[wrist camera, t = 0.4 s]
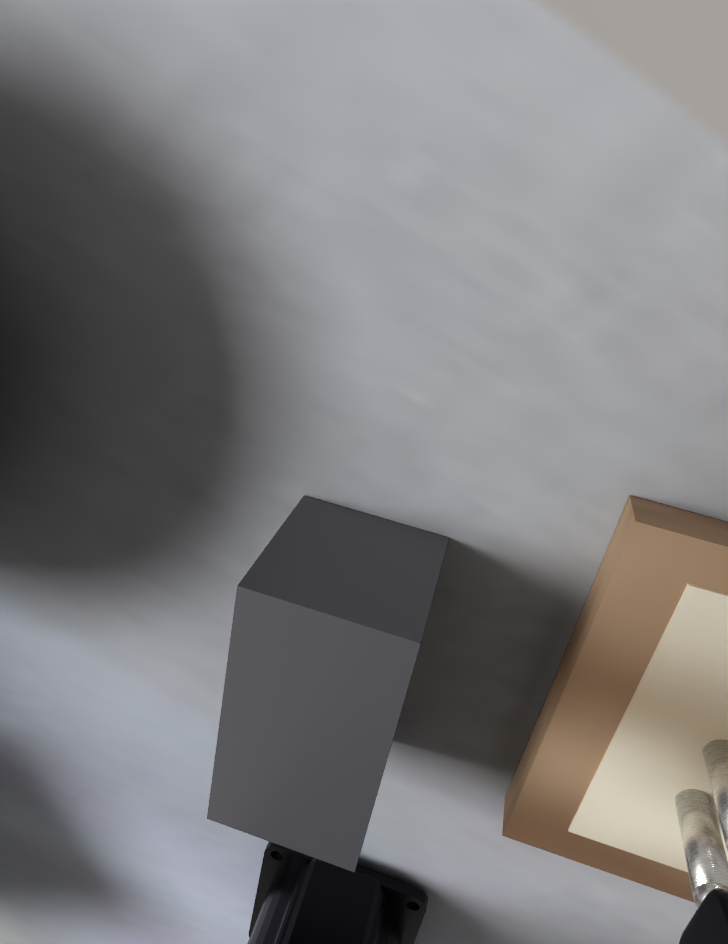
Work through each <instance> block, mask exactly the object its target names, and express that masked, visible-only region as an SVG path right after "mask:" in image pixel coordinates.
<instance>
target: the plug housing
mask: <svg viewBox="0 0 728 944" xmlns="http://www.w3.org/2000/svg"><path fill="white" fill-rule="evenodd" d="M448 540H449V538H448V537H444V536H441V535H437V534H434V533H430V532H427V531H424V530H420V529H417V528H413V527H410V526H406V525H403V524H400V523H396V522H393V521H389V520H386V519H382V518H379V517H376V516H372V515H369V514H365V513H362V512H358V511H355V510H352V509H348V508H345V507H341V506H338V505H334V504H331V503H328V502H324V501H321V500H317V499H314V498H311V497H307V496H303V498H302V499H301V500H300V502H299V503H298V504H297V506H296V507H295V508H294V510H293V511H292V512H291V514H290V515H289V517H288V518H287V519H286V521H285V522H284V523H283V525H282V526H281V527H280V529H279V530H278V531H277V533H276V534H275V536H274V537H273V538H272V540H271V541H270V542H269V544H268V545H267V546H266V548H265V549H264V551H263V552H262V553H261V555H260V556H259V557H258V559H257V560H256V561H255V563H254V564H253V565H252V567H251V568H250V570H249V571H248V572H247V574H246V575H245V576H244V578H243V579H242V580H241V582H240V583H239V584H238V586H237V593H236V601H235V609H234V616H233V624H232V632H231V639H230V647H229V655H228V662H227V670H226V678H225V685H224V693H223V700H222V708H221V716H220V723H219V731H218V739H217V746H216V754H215V762H214V769H213V777H212V784H211V792H210V800H209V807H208V815H207V819H210V820H212V821H215V822H218V823H221V824H223V825H226V826H229V827H232V828H234V829H237V830H240V831H242V832H245V833H248V834H251V835H253V836H256V837H259V838H262V839H264V840H267V841H270V842H273V843H275V844H278V845H281V846H284V847H286V848H289V849H292V850H294V851H297V852H300V853H303V854H305V855H308V856H311V857H314V858H316V859H319V860H322V861H325V862H327V863H330V864H333V865H335V866H338V867H341V868H344V869H346V870H349V871H352V872H355V869H356V866H357V862H358V859H359V855H360V852H361V848H362V845H363V841H364V838H365V834H366V831H367V827H368V824H369V821H370V817H371V814H372V810H373V807H374V803H375V800H376V796H377V793H378V789H379V786H380V782H381V779H382V776H383V772H384V769H385V765H386V762H387V758H388V755H389V751H390V748H391V744H392V741H393V738H394V734H395V731H396V727H397V724H398V720H399V717H400V713H401V710H402V706H403V703H404V699H405V696H406V693H407V689H408V686H409V682H410V679H411V675H412V672H413V668H414V665H415V661H416V658H417V655H418V651H419V648H420V644H421V640H422V637H423V633H424V629H425V626H426V622H427V618H428V615H429V611H430V607H431V603H432V600H433V596H434V592H435V589H436V585H437V581H438V577H439V574H440V570H441V566H442V563H443V559H444V555H445V552H446V548H447V544H448Z"/></svg>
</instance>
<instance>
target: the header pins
mask: <svg viewBox="0 0 728 944" xmlns="http://www.w3.org/2000/svg"><path fill="white" fill-rule="evenodd" d="M703 758H704V762H705V766H706V770H707V773H708V777H709V781H710V785H711V789H712V793H713V797H714V801H715V805H716V809H717V813H718V817H719V821H720V825H721V828H722V832H723V836H724V840H725V844H726V848H727V850H728V740H723V739H719V740H714V741H711V742H709V743H708V744H707V745H706V746H705V747H704V749H703ZM675 805H676V810H677V816H678V821H679V826H680V831H681V836H682V842H683V847H684V852H685V857H686V862H687V868H688V873H689V878H690V883H691V888H692V894H693V898H694V901H695V903H696V905H697V907H698V908H699V906H700V905H701V903H702V902H703V900H704V898H705V897H706V895H707V894H708V893H709V892H710V891H711V890H713V889H716V888H719V889H724V890H726V891H728V861H727V857H726V853H725V849H724V845H723V841H722V837H721V833H720V829H719V825H718V821H717V817H716V813H715V809H714V805H713V801H712V799H711V797H710V796H709V795H708V794H707V793H705V792H703V791H701V790H697V789H687V790H683V791H681V792H680V793H678V794H677V796H676V797H675Z"/></svg>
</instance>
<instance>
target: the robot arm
mask: <svg viewBox="0 0 728 944" xmlns="http://www.w3.org/2000/svg"><path fill="white" fill-rule="evenodd" d="M427 901H428V897H427V895H426V893H425V892H423V891H422V890H420V889H418V888H416V887H413V886H411V885H408V884H405V883H402V882H400V881H397V880H394V879H391V878H389V877H386V876H383V875H380V874H378V873H375V872H372V871H369V870H367V869H364V868H361V867H358V866H356V869H355V872H352V871H349V870H346V869H344V868H341V867H338V866H335V865H333V864H330V863H327V862H325V861H322V860H319V859H316V858H314V857H311V856H308V855H305V854H303V853H300V852H297V851H294V850H292V849H289V848H286V847H284V846H281V845H278V844H275V843H273V842H270V841H269V842H268V845H267V847H266V849H265V852H264V857H263V863H262V868H261V873H260V878H259V883H258V888H257V894H256V899H255V904H254V909H253V914H252V920H251V925H250V930H249V937H250V939H249V941H248V944H414V941H415V938H416V936H417V933H418V930H419V928H420V925H421V922H422V920H423V917H424V914H425V912H426V907H427ZM679 944H728V891H726V890H724V889H719V888H716V889H713V890H711V891H710V892H709V893H708V894H707V895H706V897H705V898H704V900H703V902H702V903H701V905H700V906H699V908H698V909H697V911H696V913H695V914H694V916H693V917H692V919H691V921H690V922H689V924H688V925H687V927H686V928H685V930H684V932H683V934H682V936H681V939H680V942H679Z"/></svg>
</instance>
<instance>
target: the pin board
mask: <svg viewBox="0 0 728 944" xmlns="http://www.w3.org/2000/svg"><path fill="white" fill-rule="evenodd" d="M719 739H723V740H728V522H725V521H721V520H718V519H714V518H710V517H707V516H703V515H699V514H696V513H692V512H688V511H685V510H681V509H678V508H674V507H670V506H667V505H663V504H659V503H656V502H652V501H648V500H645V499H641V498H637V497H634V496H629V498H628V500H627V503H626V505H625V508H624V510H623V513H622V515H621V517H620V520H619V522H618V525H617V527H616V530H615V532H614V534H613V537H612V539H611V542H610V544H609V547H608V549H607V551H606V554H605V556H604V559H603V561H602V564H601V566H600V568H599V571H598V573H597V576H596V578H595V581H594V583H593V585H592V588H591V590H590V593H589V595H588V598H587V600H586V602H585V605H584V607H583V610H582V612H581V615H580V617H579V619H578V622H577V624H576V627H575V629H574V632H573V634H572V636H571V639H570V641H569V644H568V646H567V649H566V651H565V653H564V656H563V658H562V661H561V663H560V666H559V668H558V670H557V673H556V675H555V678H554V680H553V683H552V685H551V687H550V690H549V692H548V695H547V697H546V700H545V702H544V704H543V707H542V709H541V712H540V714H539V717H538V719H537V721H536V724H535V726H534V729H533V731H532V734H531V736H530V738H529V741H528V743H527V746H526V748H525V751H524V753H523V755H522V758H521V760H520V763H519V765H518V768H517V770H516V772H515V775H514V777H513V780H512V782H511V785H510V787H509V789H508V792H507V794H506V797H505V806H504V819H503V833H502V836H505V837H508V838H511V839H514V840H517V841H520V842H522V843H525V844H528V845H531V846H534V847H537V848H540V849H543V850H545V851H548V852H551V853H554V854H557V855H560V856H563V857H566V858H568V859H571V860H574V861H577V862H580V863H583V864H586V865H589V866H591V867H594V868H597V869H600V870H603V871H606V872H609V873H612V874H614V875H617V876H620V877H623V878H626V879H629V880H632V881H635V882H637V883H640V884H643V885H646V886H649V887H652V888H655V889H658V890H660V891H663V892H666V893H669V894H672V895H675V896H678V897H681V898H683V899H686V900H689V901H692V902H695V901H694V898H693V894H692V888H691V883H690V878H689V873H688V868H687V862H686V857H685V852H684V847H683V842H682V836H681V831H680V826H679V821H678V816H677V810H676V805H675V797H676V796H677V794H678V793H680V792H681V791H683V790H687V789H697V790H701V791H703V792H705V793H707V794H708V795H709V796H710V797H711V799H712V801H713V805H714V809H715V813H716V817H717V821H718V825H719V829H720V833H721V837H722V841H723V845H724V849H725V853H726V857H727V861H728V850H727V848H726V844H725V840H724V836H723V832H722V828H721V825H720V821H719V817H718V813H717V809H716V805H715V801H714V797H713V793H712V789H711V785H710V781H709V777H708V773H707V770H706V766H705V762H704V758H703V749H704V747H705V746H706V745H707V744H708V743H709V742H711V741H714V740H719Z"/></svg>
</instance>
